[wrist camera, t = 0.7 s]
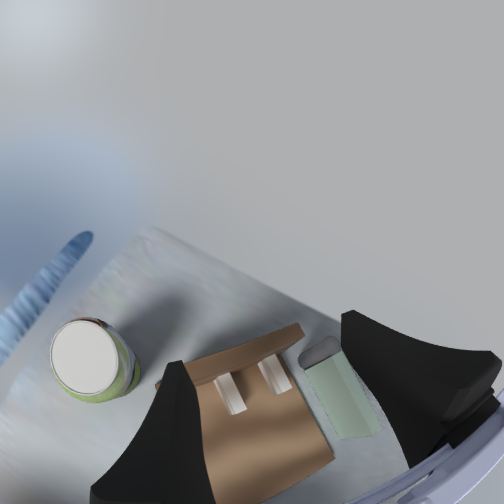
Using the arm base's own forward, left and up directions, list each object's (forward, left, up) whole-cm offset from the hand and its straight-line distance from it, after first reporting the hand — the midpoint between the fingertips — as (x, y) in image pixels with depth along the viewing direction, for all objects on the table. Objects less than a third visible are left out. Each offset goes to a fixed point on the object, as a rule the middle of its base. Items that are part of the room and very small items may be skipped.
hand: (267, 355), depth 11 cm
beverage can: (+5, +8, -18) cm, 21 cm away
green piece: (-6, -13, -18) cm, 23 cm away
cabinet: (-5, -3, -18) cm, 19 cm away
